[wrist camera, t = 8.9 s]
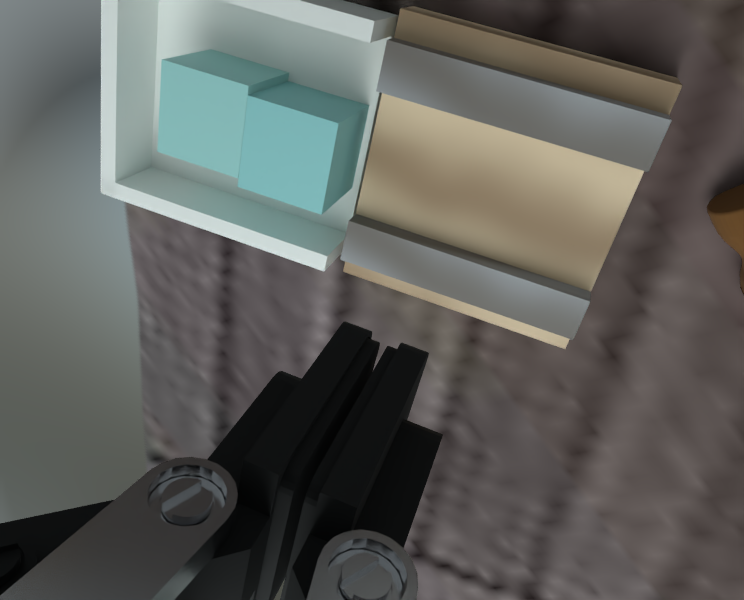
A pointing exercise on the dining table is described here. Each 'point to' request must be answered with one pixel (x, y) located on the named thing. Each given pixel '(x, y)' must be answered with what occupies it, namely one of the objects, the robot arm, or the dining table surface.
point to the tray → (254, 43)
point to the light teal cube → (209, 106)
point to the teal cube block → (301, 145)
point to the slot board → (501, 171)
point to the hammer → (730, 220)
